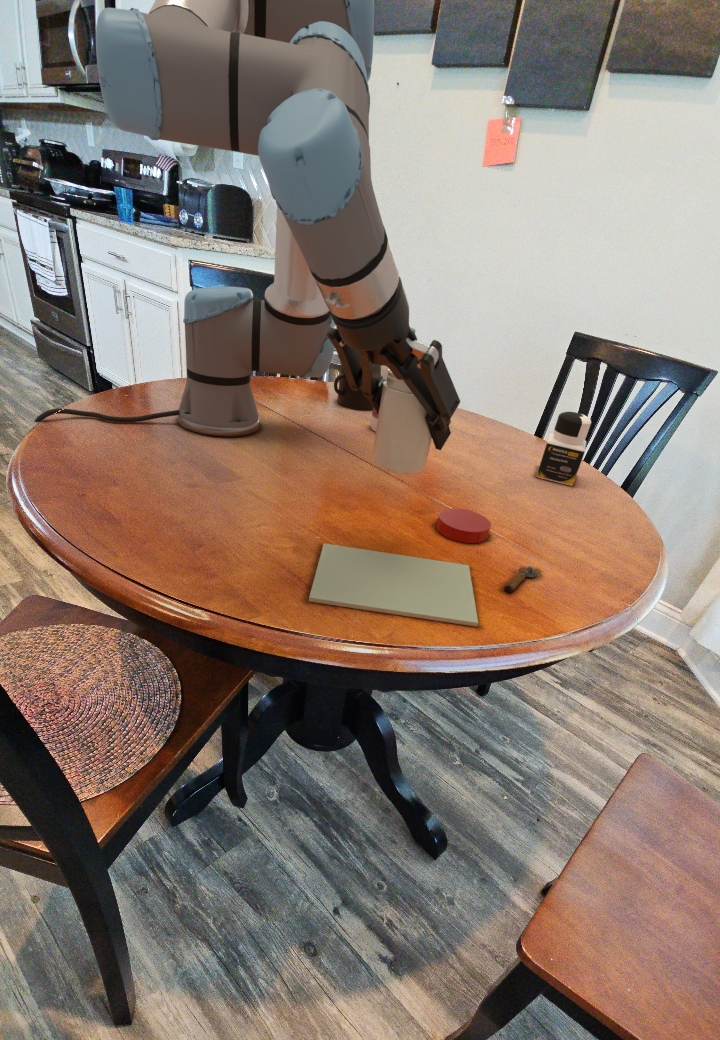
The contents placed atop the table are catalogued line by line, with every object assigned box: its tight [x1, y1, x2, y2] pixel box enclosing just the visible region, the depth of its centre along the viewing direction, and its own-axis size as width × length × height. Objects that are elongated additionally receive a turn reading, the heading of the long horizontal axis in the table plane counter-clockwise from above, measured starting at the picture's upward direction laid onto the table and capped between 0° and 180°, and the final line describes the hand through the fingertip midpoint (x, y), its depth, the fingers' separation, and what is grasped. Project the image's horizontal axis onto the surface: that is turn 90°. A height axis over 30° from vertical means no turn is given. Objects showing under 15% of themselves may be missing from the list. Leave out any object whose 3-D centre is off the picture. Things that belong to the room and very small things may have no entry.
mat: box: [308, 543, 479, 627], centre depth 74 cm, size 20×14×1 cm
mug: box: [333, 364, 373, 411], centre depth 136 cm, size 9×12×9 cm
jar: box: [371, 369, 433, 474], centre depth 74 cm, size 7×7×11 cm
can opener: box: [504, 565, 538, 594], centre depth 79 cm, size 9×2×1 cm, turn 139°
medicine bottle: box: [535, 411, 592, 487], centre depth 112 cm, size 7×7×12 cm
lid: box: [435, 507, 492, 544], centre depth 89 cm, size 8×8×2 cm
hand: (417, 431), depth 78 cm, fingers closed on jar, 7 cm apart
